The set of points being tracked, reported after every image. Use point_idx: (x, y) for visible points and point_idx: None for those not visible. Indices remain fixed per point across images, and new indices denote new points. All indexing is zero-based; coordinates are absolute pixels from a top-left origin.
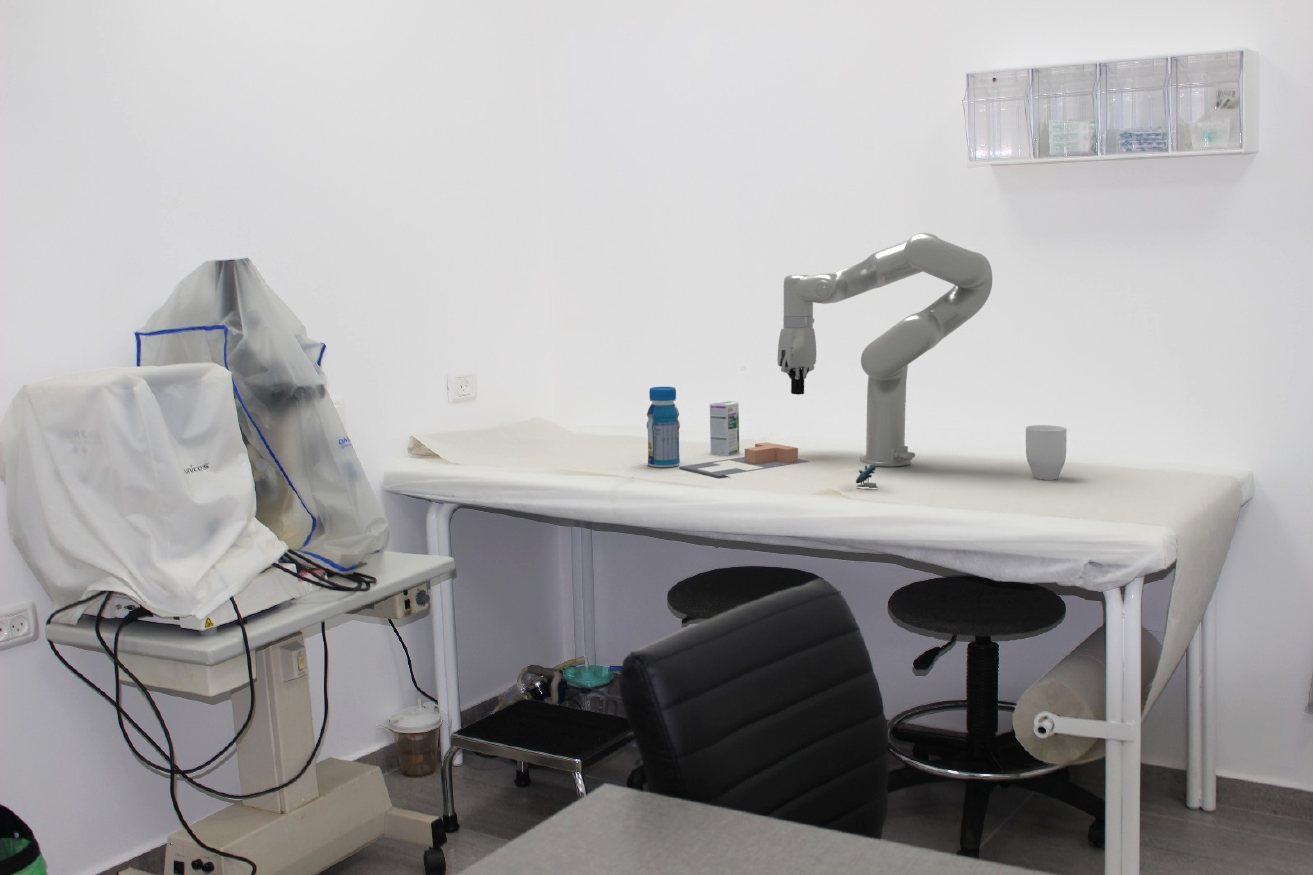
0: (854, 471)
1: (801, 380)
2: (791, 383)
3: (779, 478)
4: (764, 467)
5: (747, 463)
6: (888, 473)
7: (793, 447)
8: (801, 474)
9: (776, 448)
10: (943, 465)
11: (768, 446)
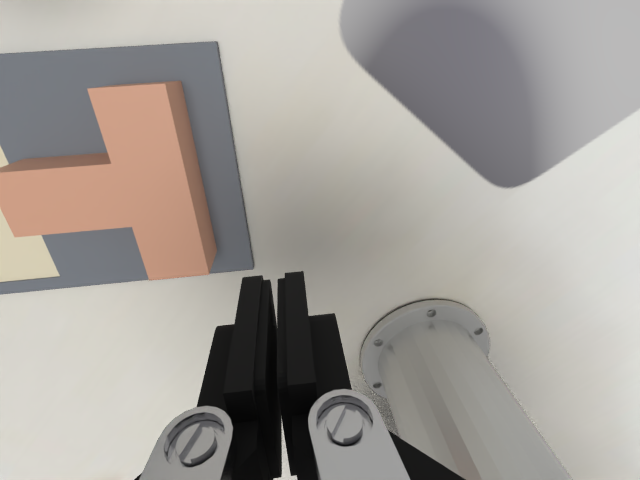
0: None
1: (292, 464)
2: (205, 379)
3: (54, 374)
4: (58, 274)
5: None
6: None
7: (199, 259)
8: (138, 362)
9: (134, 229)
10: None
11: (116, 187)
